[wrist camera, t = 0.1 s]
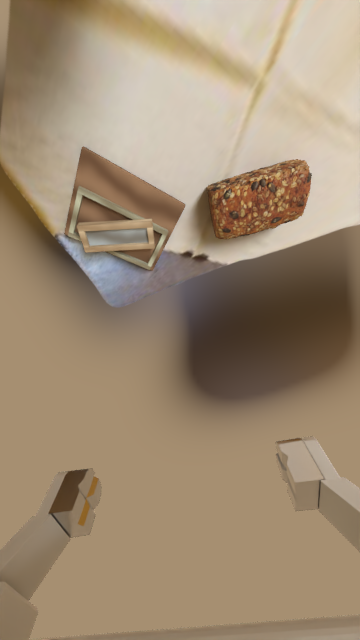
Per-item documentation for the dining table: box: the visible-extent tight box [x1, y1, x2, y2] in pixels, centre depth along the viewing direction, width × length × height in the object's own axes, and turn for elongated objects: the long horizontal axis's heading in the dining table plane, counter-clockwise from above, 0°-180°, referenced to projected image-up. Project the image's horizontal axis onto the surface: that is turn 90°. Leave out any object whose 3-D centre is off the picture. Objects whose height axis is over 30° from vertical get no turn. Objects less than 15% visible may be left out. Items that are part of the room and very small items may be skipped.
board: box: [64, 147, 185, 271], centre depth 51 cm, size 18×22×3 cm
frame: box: [77, 219, 155, 252], centre depth 51 cm, size 6×16×2 cm, turn 92°
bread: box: [207, 159, 312, 239], centre depth 47 cm, size 19×11×10 cm, turn 104°
